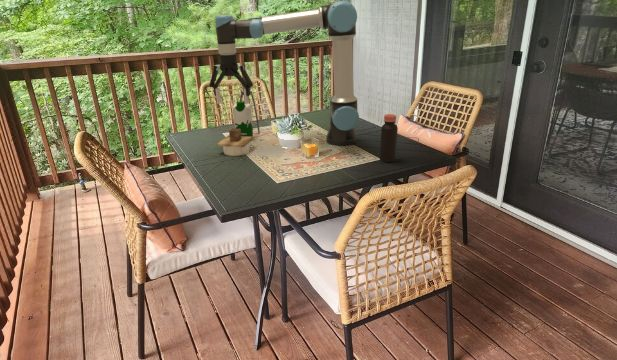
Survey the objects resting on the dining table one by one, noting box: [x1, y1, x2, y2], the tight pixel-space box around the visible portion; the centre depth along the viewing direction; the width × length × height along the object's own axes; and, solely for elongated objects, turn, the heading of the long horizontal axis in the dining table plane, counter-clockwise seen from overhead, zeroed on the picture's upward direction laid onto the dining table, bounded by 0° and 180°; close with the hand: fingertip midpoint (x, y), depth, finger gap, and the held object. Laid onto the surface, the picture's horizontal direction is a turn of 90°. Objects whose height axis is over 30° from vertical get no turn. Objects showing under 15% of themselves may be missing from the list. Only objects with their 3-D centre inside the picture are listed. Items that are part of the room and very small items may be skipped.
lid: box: [216, 128, 255, 147], centre depth 193 cm, size 13×13×6 cm
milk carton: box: [232, 100, 254, 137], centre depth 210 cm, size 9×9×20 cm
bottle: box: [379, 113, 399, 163], centre depth 179 cm, size 7×7×20 cm
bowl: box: [222, 143, 251, 157], centre depth 195 cm, size 12×12×5 cm
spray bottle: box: [239, 76, 261, 135], centre depth 222 cm, size 10×11×30 cm
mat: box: [248, 144, 288, 158], centre depth 196 cm, size 15×15×1 cm
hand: (232, 102), depth 187 cm, fingers open, 13 cm apart
